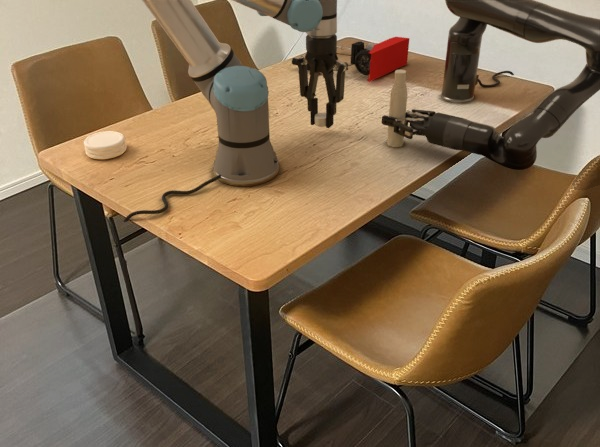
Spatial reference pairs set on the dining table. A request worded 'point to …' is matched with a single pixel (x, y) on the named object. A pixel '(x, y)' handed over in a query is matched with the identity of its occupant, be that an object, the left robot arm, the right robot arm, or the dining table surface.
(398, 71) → the bottle
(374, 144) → the dining table surface
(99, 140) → the white round disc
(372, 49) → the electric hoist
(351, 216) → the dining table surface
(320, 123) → the cap
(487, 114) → the dining table surface
